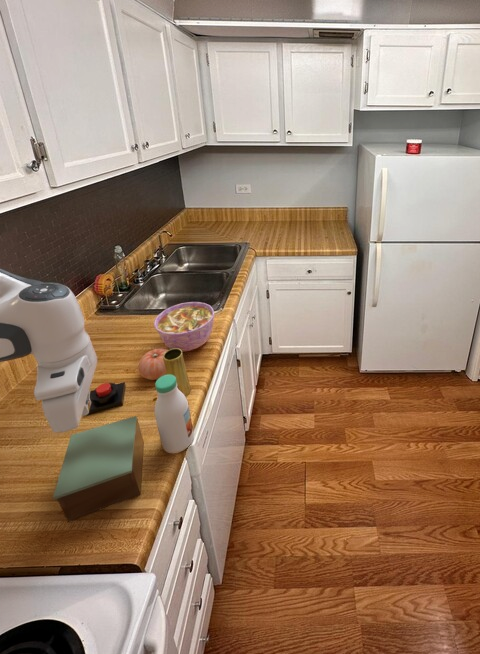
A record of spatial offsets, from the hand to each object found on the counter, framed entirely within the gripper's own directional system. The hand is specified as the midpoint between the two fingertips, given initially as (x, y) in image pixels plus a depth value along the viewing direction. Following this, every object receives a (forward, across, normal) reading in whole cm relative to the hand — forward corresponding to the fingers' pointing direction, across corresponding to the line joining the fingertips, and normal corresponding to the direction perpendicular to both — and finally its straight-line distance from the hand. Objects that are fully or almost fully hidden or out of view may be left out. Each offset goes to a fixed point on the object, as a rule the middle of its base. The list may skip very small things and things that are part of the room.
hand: (85, 410), depth 71 cm
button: (+16, -24, -3) cm, 29 cm away
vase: (+19, -19, +17) cm, 32 cm away
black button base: (+19, -24, -3) cm, 31 cm away
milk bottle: (+19, -2, +16) cm, 25 cm away
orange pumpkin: (+19, -30, +11) cm, 37 cm away
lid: (+10, +3, +1) cm, 11 cm away
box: (+19, +2, +1) cm, 19 cm away
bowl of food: (+19, -42, +20) cm, 50 cm away
